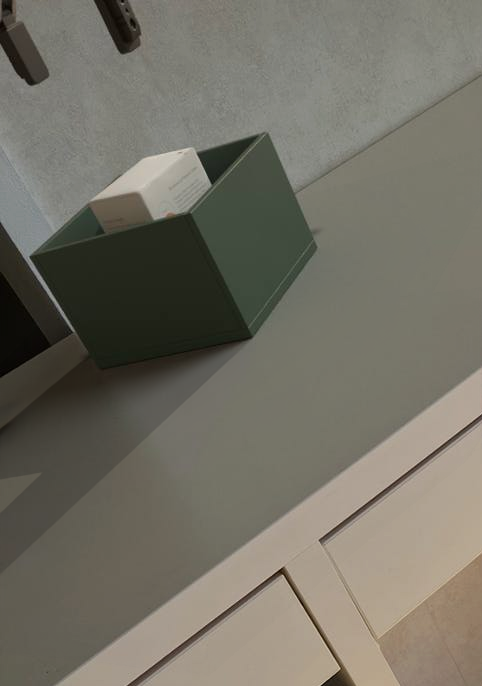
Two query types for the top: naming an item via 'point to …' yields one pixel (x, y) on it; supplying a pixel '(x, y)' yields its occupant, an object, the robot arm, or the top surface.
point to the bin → (183, 263)
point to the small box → (152, 190)
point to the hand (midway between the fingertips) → (84, 66)
